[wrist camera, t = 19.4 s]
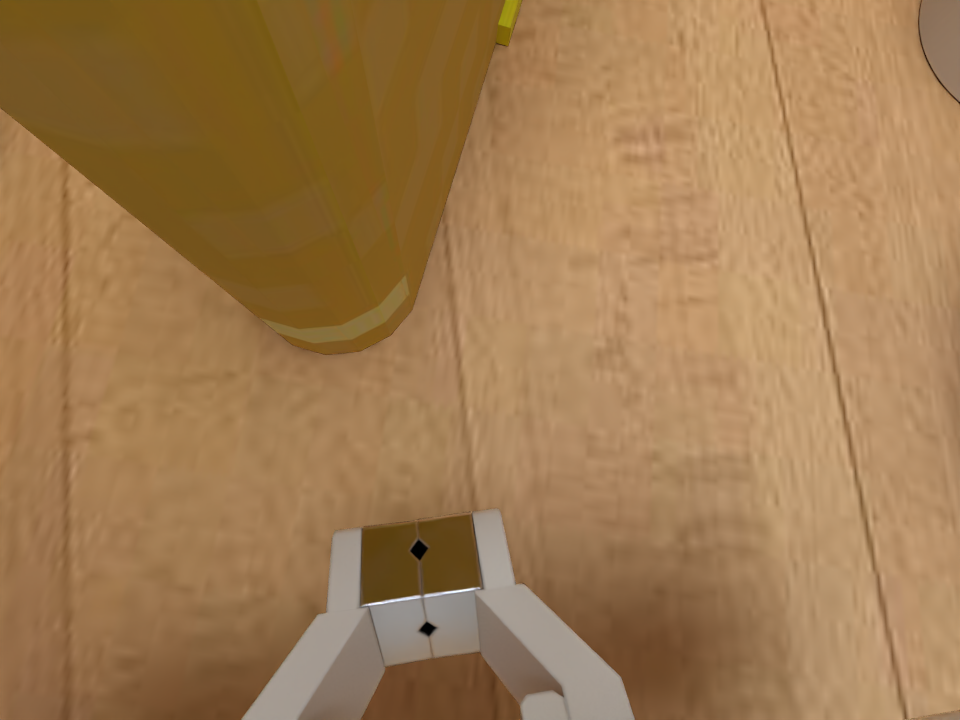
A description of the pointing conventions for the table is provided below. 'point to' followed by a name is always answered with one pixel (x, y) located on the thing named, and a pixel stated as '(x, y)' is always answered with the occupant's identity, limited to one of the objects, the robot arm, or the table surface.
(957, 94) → the gray cylinder
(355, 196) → the book
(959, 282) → the table surface
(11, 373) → the table surface
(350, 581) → the robot arm
